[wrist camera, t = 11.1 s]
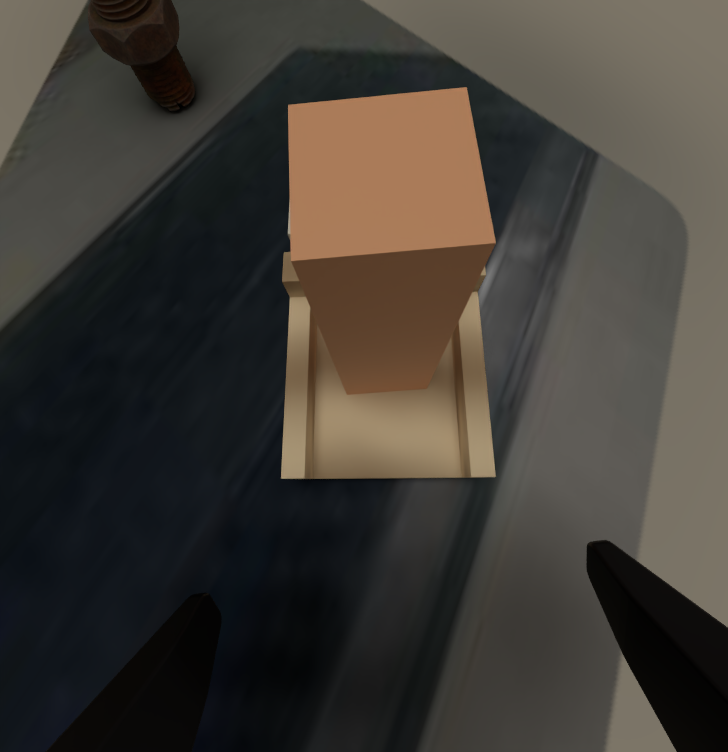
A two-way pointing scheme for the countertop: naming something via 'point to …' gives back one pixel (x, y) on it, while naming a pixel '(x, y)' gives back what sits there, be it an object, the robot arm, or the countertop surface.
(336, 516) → the countertop surface
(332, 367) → the cradle
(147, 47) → the bolt
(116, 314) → the countertop surface
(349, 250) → the orange rectangular block
